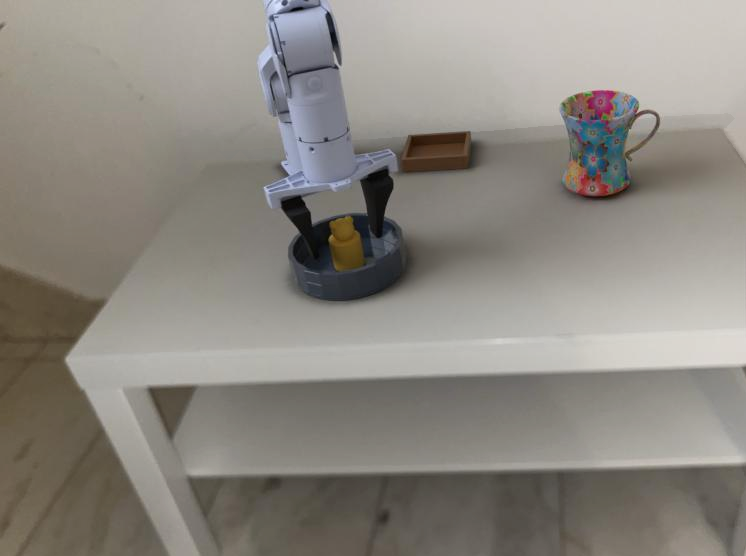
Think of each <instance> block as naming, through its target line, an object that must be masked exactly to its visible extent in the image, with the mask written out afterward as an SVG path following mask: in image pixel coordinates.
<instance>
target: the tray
mask: <svg viewBox="0 0 746 556" xmlns="http://www.w3.org/2000/svg"><path fill="white" fill-rule="evenodd" d="M471 150H472V131H471V130H467V131H466V130H465V131H449V132H432V133H416V134H408V135H407V138H406V141H405V145H404V149H403V152H402V154H401V155H402V156H401V159H400V163H401V169H402V173H413V172H428V171H430V172H431V171H445V170H446V171H449V170H463V169H469V165H470V157H471Z"/></svg>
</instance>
